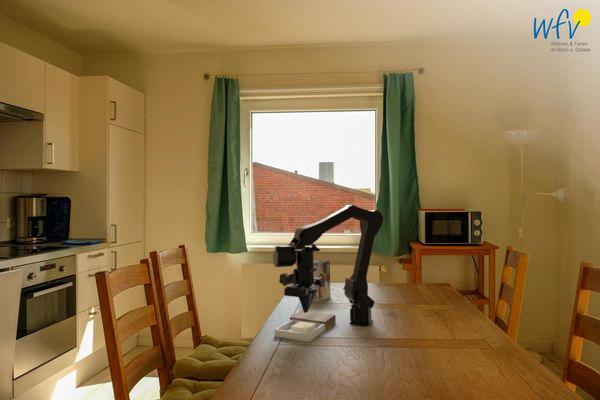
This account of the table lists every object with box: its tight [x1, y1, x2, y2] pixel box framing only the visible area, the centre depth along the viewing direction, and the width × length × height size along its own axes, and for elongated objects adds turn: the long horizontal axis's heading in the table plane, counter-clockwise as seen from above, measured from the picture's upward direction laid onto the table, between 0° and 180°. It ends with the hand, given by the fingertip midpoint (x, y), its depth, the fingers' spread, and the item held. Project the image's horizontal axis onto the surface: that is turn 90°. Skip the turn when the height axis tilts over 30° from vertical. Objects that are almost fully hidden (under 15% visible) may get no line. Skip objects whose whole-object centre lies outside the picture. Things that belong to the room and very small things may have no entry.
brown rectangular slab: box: [289, 310, 336, 332], centre depth 145 cm, size 13×9×3 cm
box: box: [274, 319, 326, 343], centre depth 135 cm, size 12×12×2 cm
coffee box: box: [312, 259, 331, 303], centre depth 180 cm, size 9×6×16 cm
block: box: [291, 322, 316, 334], centre depth 136 cm, size 6×6×2 cm
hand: (305, 312), depth 139 cm, fingers closed
